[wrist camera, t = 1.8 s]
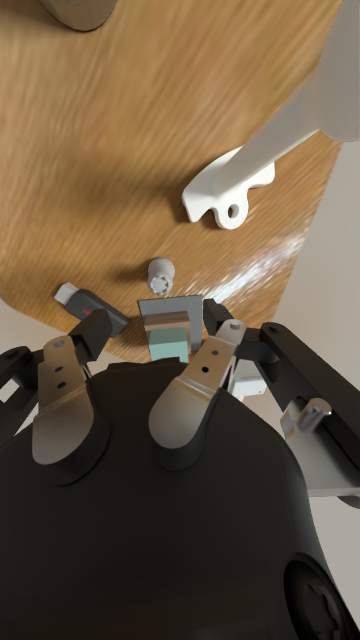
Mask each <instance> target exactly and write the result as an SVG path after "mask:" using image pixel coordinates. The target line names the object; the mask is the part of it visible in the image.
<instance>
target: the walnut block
mask: <svg viewBox="0 0 360 640" xmlns="http://www.w3.org/2000/svg"><path fill="white" fill-rule="evenodd" d="M144 327H145V331H146V335H147V339H148V344H149V339H150V333H151V330H156V329H166V328H176V327H185V332H186V338H187V348H188V354H191V340H190V320H189V316H188V312H187V311H179V312H168V313H158V314H148V315H147V316H146V321H145V325H144Z"/></svg>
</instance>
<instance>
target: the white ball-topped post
mask: <svg viewBox="0 0 360 640" xmlns="http://www.w3.org/2000/svg"><path fill="white" fill-rule="evenodd" d="M318 130H321V131H322V132H323V133H324V134H325V135H326V136H327V137H329V138H331V139H333V140H336V141H342V142H353V141H359V140H360V0H343V1H342V3H341V5H340V7H339V9H338V12H337V14H336V16H335V18H334V21H333V23H332V25H331V28H330V30H329V33H328V36H327V38H326V41H325V44H324V47H323V50H322V53H321V56H320V60H319V64H318V68H317V70H316V71H315V73H314V74H313V76H312V77H311V78H310V79H309V80H308V81H307V82H306V83H305V84H304V85H303V86H302V87H301V88H300V89H299V90H298V91H297V92H296V93H295V94H294V95H293V96H292V97H291V98H290V99H289V100H288V101H287V102H286V103H285V104H284V105H283V106H282V107H281V108H280V109H279V110H278V111H277V112H276V113H275V114H274V115H273V116H272V117H271V118H270V119H269V120H268V121H267V122H266V123H265V124H264V125H263V126H262V127H261V128H260V129H259V130H258V131H257V133H256V134H255V135H254V136H253V137H252V138H251V139H250V140H249V141H248V142H247V143H246V144H245V145H244V146H242V147H239V148H237V149H234V150H232V151H230V152H228V153H226V154H224V155H223V156H221V157H219V158H218V159H216V160H215V161H213V162H212V163H211V164H209V165H208V166H207V167H206V168H204V169H203V170H202V171H201V172H200V173H199V174H198V175H197V176H196V177H195V178H194V179H193V180H192V181H191V182H190V183H189V184H188V186H187V187H186V188H185V189H184V191H183V194H182V202H183V205H184V206H185V208H186V211H187V214H188V218H189V221H190V222H192V223H193V222H197V221H198V220H199V219H200V218H201V216H202V215H203V214H204V213H205V212H206V211H207V210H208V209H211V210H213V211H214V214H215V220H216V223H217V224H218V226H219V227H220V228H222V229H234V228H237V227H238V226H240V225H241V224H242V223H243V221H244V220H245V218H246V216H247V213H248V201H247V198H246V195H247V191H248V189H249V188H256V187H263V186H265V185H267V184H269V183H271V182H272V181H273V179H274V176H275V170H274V161H275V160H277V159H278V158H280V157H281V156H283V155H284V154H285V153H287V152H288V151H290V150H291V149H293V148H294V147H295V146H297V145H298V144H300V143H301V142H303V141H304V140H305V139H307V138H308V137H310V136H311V135H313V134H314V133H316V132H317V131H318ZM229 207H231V208H232V210H233V213H232V216H231V218H230V217H229V216H228V209H229Z"/></svg>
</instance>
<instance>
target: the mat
mask: <svg viewBox="0 0 360 640" xmlns="http://www.w3.org/2000/svg"><path fill="white" fill-rule="evenodd" d="M139 305H140V309H141V314H142V318H143V322H144V325H145V321H146V316H147V315H148V314H158V313H168V312H179V311H187V312H188V316H189V320H190V340H191V351H193V350H199V349H200V348H201V338H202V294H201V295H190V296H180V297H169V298H158V299H147V300H139Z"/></svg>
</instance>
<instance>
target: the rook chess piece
mask: <svg viewBox="0 0 360 640" xmlns="http://www.w3.org/2000/svg"><path fill="white" fill-rule="evenodd" d="M148 274H149V277H148V281H147V283H148V287H149V289H150V291H151V292H153V293H154V294H157V295H165V294H167V293H168V292H169V291H170V290H171V289H172V286H173V282H172V280H173V278H174V275H175V268H174V266H173V264H172V262H171V261H170V260H169V259H166V258H164V257H158V258H156V259H154V260H152V262H151V263H150V264H149V268H148Z"/></svg>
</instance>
